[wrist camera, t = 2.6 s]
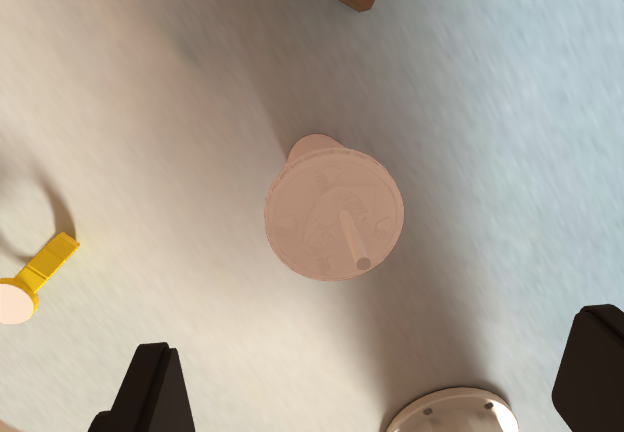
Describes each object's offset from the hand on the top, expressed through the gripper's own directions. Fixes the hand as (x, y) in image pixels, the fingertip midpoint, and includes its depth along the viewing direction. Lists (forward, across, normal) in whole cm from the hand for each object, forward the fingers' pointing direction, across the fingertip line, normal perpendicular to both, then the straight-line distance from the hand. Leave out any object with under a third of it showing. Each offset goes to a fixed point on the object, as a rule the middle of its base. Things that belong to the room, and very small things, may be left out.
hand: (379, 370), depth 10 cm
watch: (+19, +18, +6) cm, 27 cm away
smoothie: (+19, 0, +1) cm, 19 cm away
